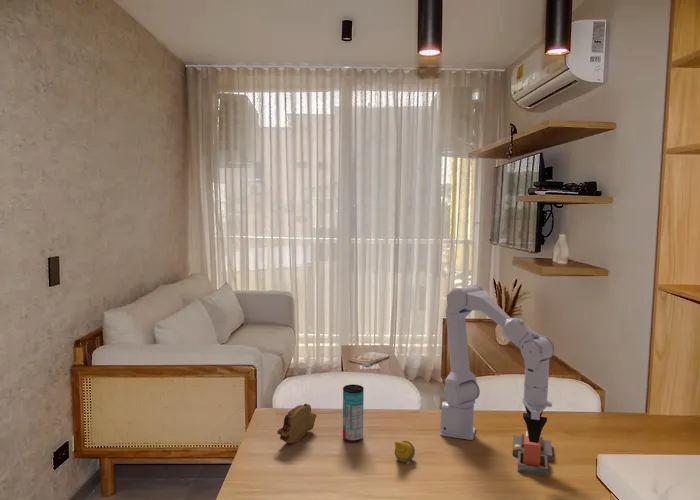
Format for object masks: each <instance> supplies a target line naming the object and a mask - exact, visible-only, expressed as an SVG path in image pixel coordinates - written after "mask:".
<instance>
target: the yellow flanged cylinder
mask: <svg viewBox="0 0 700 500" xmlns="http://www.w3.org/2000/svg"><path fill="white" fill-rule="evenodd" d="M394 447H395V449H394V455H395V458H396V459H397V460H398V461H399V462H400V463H408V462H410V461H412V459H413V458H414V456H415V453H416V450H415V446H414V445H413V444H412V443H411V442H410V441H407V440H404V441H395V442H394Z"/></svg>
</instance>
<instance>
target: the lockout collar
mask: <svg viewBox="0 0 700 500" xmlns="http://www.w3.org/2000/svg"><path fill="white" fill-rule="evenodd" d="M523 456H524V452H521V451H518V456H517V472H518V473H525V474H530V475H537V476H542V477H549V466H548V464H549V463H548V460H547V455H540V464H544V465H543V466H541V465H540V466H534V465H528V464H523V463H521V460H522V461H523Z"/></svg>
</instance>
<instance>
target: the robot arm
mask: <svg viewBox="0 0 700 500" xmlns="http://www.w3.org/2000/svg"><path fill="white" fill-rule="evenodd" d="M446 304H447V306H446V309H445V317H446V318H445V322H446V330H447V331H446V332H447V340H448V352H449V353H448V354H449V365H450V372H449V374H448V375H447V377H446V378H445V380H444V383H445V385H444V389H443V397H444V400H445V401H442V403H441V410H440V433H439V435H440V436H442V437H443V436H444V437H449V438H456V439H461V440H462V439H464V440H469V441H473V440H474V437H475V433H476V427H475V426H474V417H475V416H474V413H475V405H476V400H477V399H479V397H480V393H481V389H480V386H479V384H478V382H477V376H476V375H475V374H474V373H473V372H472V371H471V369H470V357H469V356H470V355H469V346H468V336H467V324H466V318H467V317H468V315H470V314H471V313H472V311H476V312H477V311H480V312H482V313H483V314H484V315H486V316H487V317H488V318H490V319H491V320H492V321H493V322H494V323H496V324H497V325H499V326H500V327H501V328H502V329H501V330H502V334H503V335H504V336H505V337H506V338H507V339H508V340H510V342H511V343H513V344H514V345H515V346H516V347H517V348H518V349H519V350H520V353H521V356H522V358H523V360H524V363H523V364H524V365H523V366H524V381H523V382H524V383H523V398H522V404H523V406H524V408H525V412H523V414H522V418H523V420H524V422H525V425H526V428H527V430H526V431H528V438H529V442H534V443H538V442H539V439H540V437H541V435H542V430H543V429H544V427H545V425H546V424H547V422H548V417H546V416H542V415H543V412H544V410H545V409H546V408H552V407H553V402H552V401H550V400H548V393H549V392H548V391H549V376H550V375H549V373H550V372H549V371H550V358H552V357H553V356H554V354H555V346H554V343H553V341H552V340H551V339H550V338H549V336H546V335H540V334H539V333H538V332H537V331H534V330H532V328H530V327H529V326H528V325H527V324H525V321H524V320H523V319H522V318H518V317H510V316H509V314H507V312H505V311H504V310H503V309H502V307H500V305H498V304H497V303H496V302H495V301H494V300H493V299H492V298H491V297H490V294H489V292H488V291H487V290H485V289H484V288H483V287H482V286H480V285H477V284H474V285H470V286H465V287H454V288H452V289H451V290H450V291H449V292H448V293H447V294H446Z"/></svg>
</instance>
